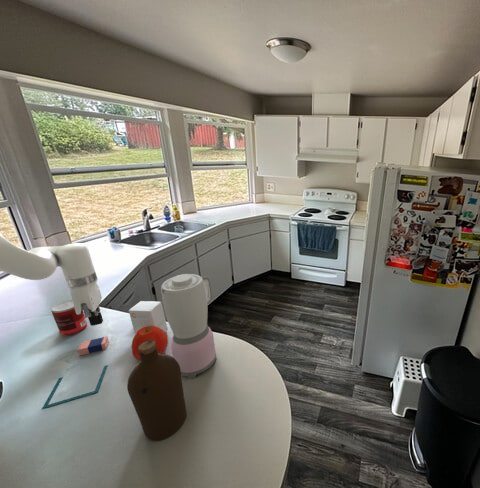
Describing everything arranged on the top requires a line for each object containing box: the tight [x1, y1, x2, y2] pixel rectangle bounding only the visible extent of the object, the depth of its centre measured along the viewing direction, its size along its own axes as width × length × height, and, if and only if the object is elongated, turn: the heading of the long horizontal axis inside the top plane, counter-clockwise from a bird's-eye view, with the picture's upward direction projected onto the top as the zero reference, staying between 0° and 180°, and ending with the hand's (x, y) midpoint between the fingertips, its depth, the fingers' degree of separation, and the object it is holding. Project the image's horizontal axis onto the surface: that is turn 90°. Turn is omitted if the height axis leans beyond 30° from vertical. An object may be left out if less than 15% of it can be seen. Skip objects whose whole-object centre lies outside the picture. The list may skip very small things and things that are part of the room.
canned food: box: [50, 299, 88, 337], centre depth 95 cm, size 8×8×11 cm
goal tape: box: [41, 364, 108, 410], centre depth 74 cm, size 12×11×1 cm
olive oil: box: [126, 341, 187, 442], centre depth 61 cm, size 11×11×25 cm
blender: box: [160, 273, 217, 379], centre depth 79 cm, size 16×12×32 cm
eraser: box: [77, 336, 110, 356], centre depth 87 cm, size 7×4×3 cm, turn 117°
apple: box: [131, 326, 169, 362], centre depth 85 cm, size 10×10×10 cm
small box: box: [128, 300, 168, 335], centre depth 93 cm, size 8×6×13 cm
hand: (97, 323), depth 92 cm, fingers closed
